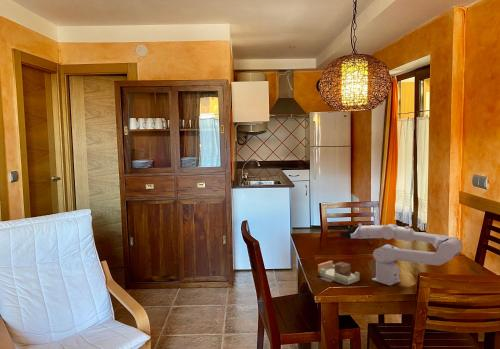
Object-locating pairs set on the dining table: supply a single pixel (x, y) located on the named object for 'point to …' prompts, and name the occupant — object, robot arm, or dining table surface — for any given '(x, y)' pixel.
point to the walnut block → (342, 269)
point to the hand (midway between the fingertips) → (344, 232)
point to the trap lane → (329, 272)
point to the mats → (326, 279)
